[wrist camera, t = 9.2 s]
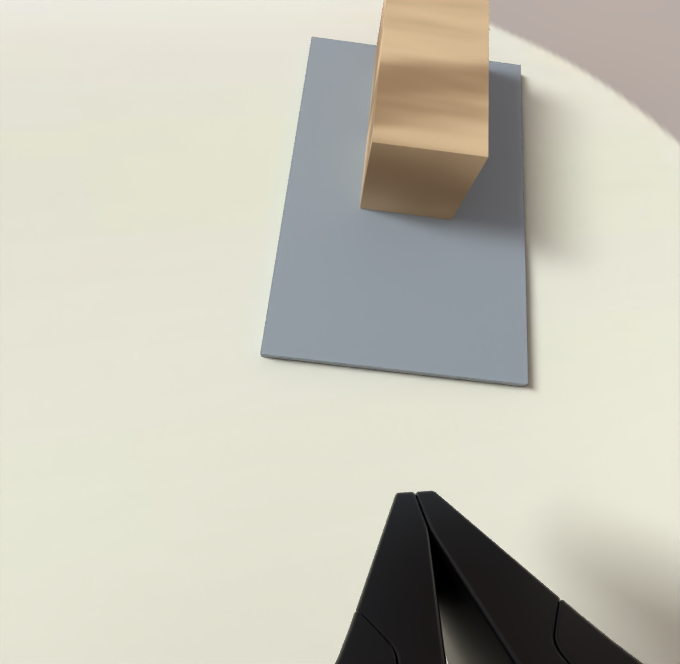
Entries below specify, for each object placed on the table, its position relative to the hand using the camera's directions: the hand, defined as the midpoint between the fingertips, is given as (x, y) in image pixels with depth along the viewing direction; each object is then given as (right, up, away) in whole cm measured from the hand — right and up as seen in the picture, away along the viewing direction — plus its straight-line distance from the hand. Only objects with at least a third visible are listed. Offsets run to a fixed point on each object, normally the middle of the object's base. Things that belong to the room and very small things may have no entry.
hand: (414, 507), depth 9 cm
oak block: (+2, +11, +11) cm, 16 cm away
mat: (+2, +11, +15) cm, 19 cm away
